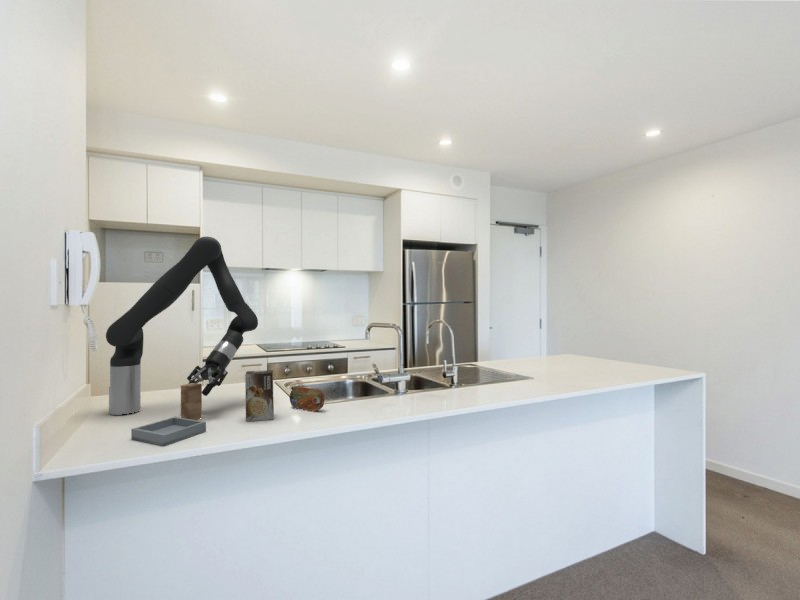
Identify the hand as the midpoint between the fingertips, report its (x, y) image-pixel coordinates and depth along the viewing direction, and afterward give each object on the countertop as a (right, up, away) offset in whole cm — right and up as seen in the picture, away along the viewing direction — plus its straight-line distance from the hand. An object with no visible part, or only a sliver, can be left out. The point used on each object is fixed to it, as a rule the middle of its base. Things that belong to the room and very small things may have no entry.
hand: (194, 393), depth 141 cm
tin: (+36, -9, +12) cm, 39 cm away
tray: (+1, -9, -17) cm, 19 cm away
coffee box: (+22, -9, +1) cm, 24 cm away
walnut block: (-1, -9, -1) cm, 9 cm away
